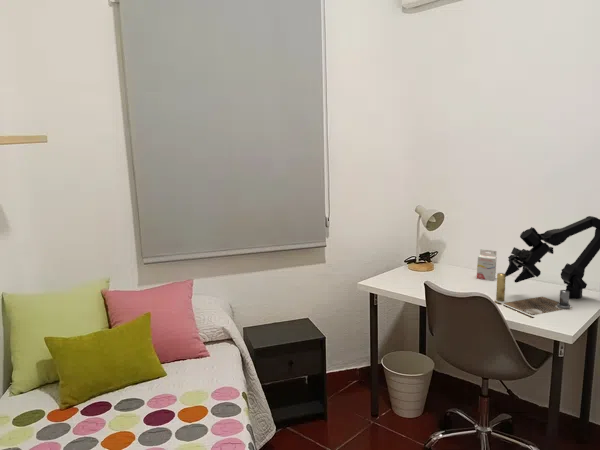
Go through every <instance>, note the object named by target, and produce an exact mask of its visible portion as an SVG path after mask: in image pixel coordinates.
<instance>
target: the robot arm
mask: <svg viewBox="0 0 600 450" xmlns="http://www.w3.org/2000/svg"><path fill="white" fill-rule="evenodd" d="M590 228H595V230H594V236H593V238H592V239H591V240H590V242H589V243H588V244H587V245H586V247H585V248H584V249H583V250H582V252H581V253H580V255H579V256H578V257H577V258H576V259H575V261H574V262H572V263H566V264H565V266H564V267H563V268H562V269H561V270H560V271H561V272H560V279H561V280H562V281H563V283H564V284H565V285H566V287H565V290H567V291H569V300H572V299H573V300H580V299H581V298H582V297H583V290H584V289H586V288H587V286H588V284H587V282H586V281H585V280H584V276H585V272H586V271H585V270H586V268H587V267H588V266H589V264H590V263H591V262H592V261H593V259H594V258H595V257H596V255H597V254H598V252H600V218H598V217H595V216H592V215H589V216H586V217H585V218H582V219H580V220H578V221H575V222H573V223H570V224H568V225H566V226H564V227H560V228H553V229H549V230H546V231H545V232H543V233H539V232H538V231H537V230H536V228H535V227H532V226H531V227H530V228H528V229H526V230H523V231H522V232H521V233H520V235H519V238H520V239H521V240H522V241H523V243H525V244H526V245H527V246H528V247H530V249H524V248H523V249H520V248H518V247H512V251H511V252H510V255H509V256H508V259H507V261H508V263H509V264H508V266H507V269H506V271H505V273H504V274H506V277H509V276H510V275H511V276H512V274H514V273H516V272H517V271H520V269H521V268H522V270H521V272H520V273H519V274H518V276H517V277H515V279H514V280H513V282H514V283H515V284H517V283H519V282H522V281H525V280H529V279H533V278H539V277H540V275H541V274H542V273H541V270H540V269H539V268H538V267H537V266H536V264H538V263H542V260H541V259H542V258H543V257H545V255H546V254H547V253H549V254H551V255H554V247H557V246H559V245H561V244H563V243H565V242H566V240H567V239H568V238H570V237H572V236H575V235H577V234H579V233H582V232H584V231H585V230H586V231H587V230H588V229H590ZM550 245H551V246H550ZM553 246H554V247H553Z"/></svg>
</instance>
